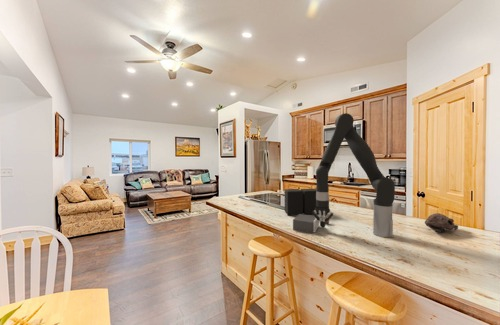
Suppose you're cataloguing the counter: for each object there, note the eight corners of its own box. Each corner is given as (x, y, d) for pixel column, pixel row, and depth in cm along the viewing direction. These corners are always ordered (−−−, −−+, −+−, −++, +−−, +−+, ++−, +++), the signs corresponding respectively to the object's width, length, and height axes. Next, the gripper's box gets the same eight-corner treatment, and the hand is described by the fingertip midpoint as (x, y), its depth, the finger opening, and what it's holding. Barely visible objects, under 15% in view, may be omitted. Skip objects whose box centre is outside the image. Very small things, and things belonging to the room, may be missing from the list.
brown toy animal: (444, 239, 116) (445, 221, 115) (417, 232, 126) (418, 215, 126) (461, 230, 129) (461, 214, 128) (435, 224, 139) (435, 209, 139)
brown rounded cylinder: (329, 223, 145) (329, 217, 145) (328, 224, 142) (328, 219, 142) (323, 222, 147) (323, 217, 147) (322, 223, 144) (322, 218, 143)
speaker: (314, 211, 176) (314, 188, 175) (319, 214, 165) (319, 190, 164) (284, 212, 174) (284, 189, 174) (287, 215, 164) (287, 191, 163)
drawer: (319, 225, 139) (319, 215, 139) (314, 231, 127) (314, 221, 127) (305, 223, 143) (305, 213, 143) (299, 229, 131) (299, 219, 131)
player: (317, 226, 140) (317, 216, 139) (312, 233, 127) (312, 222, 127) (299, 223, 145) (299, 213, 145) (293, 229, 133) (293, 219, 133)
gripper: (310, 199, 130) (310, 227, 131) (333, 201, 124) (333, 230, 125) (312, 197, 137) (312, 223, 138) (334, 198, 131) (335, 226, 131)
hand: (322, 227), depth 131 cm, fingers closed
